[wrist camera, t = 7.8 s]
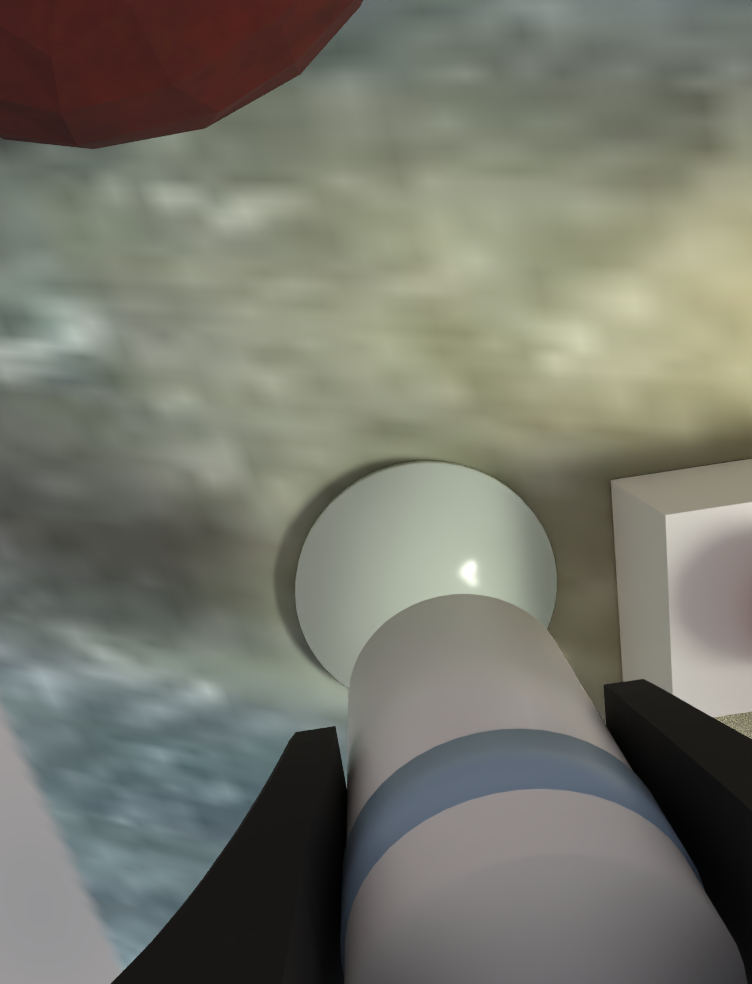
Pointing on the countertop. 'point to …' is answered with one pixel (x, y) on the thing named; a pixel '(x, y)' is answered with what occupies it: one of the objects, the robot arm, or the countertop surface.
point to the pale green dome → (416, 554)
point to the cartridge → (505, 820)
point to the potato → (148, 63)
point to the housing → (687, 583)
